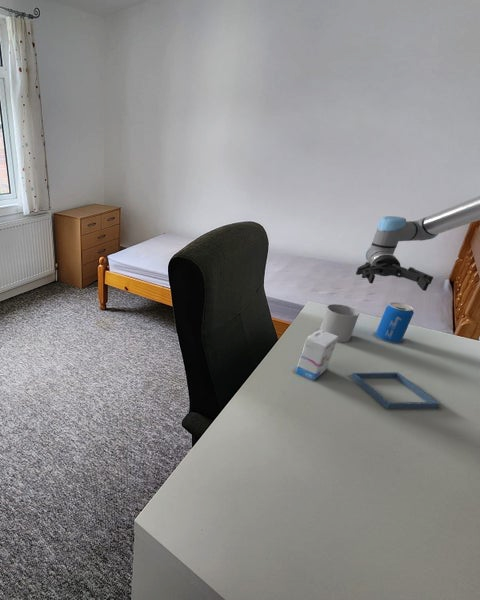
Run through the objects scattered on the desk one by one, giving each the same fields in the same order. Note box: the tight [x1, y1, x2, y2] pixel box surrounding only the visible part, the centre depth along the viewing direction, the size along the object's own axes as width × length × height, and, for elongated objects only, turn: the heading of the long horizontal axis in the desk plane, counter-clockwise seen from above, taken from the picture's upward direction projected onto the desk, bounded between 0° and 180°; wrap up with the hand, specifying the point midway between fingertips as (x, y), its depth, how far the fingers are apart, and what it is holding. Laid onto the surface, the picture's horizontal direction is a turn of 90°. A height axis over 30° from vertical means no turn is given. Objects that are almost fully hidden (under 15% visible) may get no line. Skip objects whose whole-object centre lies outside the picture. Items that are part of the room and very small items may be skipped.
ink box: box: [294, 329, 338, 381], centre depth 93 cm, size 9×5×12 cm, turn 126°
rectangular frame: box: [350, 371, 441, 410], centre depth 87 cm, size 12×12×2 cm
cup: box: [319, 303, 360, 343], centre depth 110 cm, size 8×8×10 cm
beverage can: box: [375, 302, 415, 344], centre depth 108 cm, size 6×6×12 cm
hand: (398, 283), depth 111 cm, fingers open, 13 cm apart
